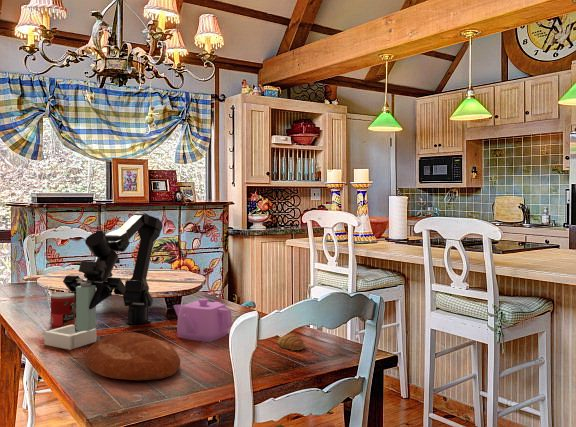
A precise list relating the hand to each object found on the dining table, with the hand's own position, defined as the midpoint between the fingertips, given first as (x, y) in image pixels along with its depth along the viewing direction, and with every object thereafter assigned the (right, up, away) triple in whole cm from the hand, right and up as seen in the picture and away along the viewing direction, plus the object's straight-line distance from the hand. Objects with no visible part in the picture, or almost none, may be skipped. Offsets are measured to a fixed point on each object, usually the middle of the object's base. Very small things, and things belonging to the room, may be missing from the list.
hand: (83, 308), depth 159 cm
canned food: (-18, -11, +28) cm, 35 cm away
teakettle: (+32, -12, +17) cm, 39 cm away
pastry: (+62, -13, +6) cm, 64 cm away
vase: (-23, -11, +40) cm, 48 cm away
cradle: (-6, -12, +7) cm, 15 cm away
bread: (+19, -14, -15) cm, 28 cm away
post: (0, -7, +2) cm, 7 cm away
